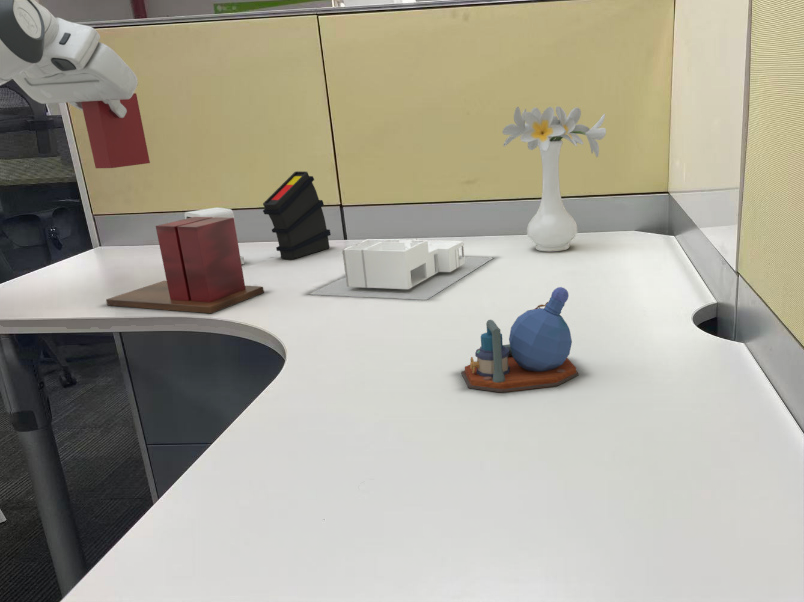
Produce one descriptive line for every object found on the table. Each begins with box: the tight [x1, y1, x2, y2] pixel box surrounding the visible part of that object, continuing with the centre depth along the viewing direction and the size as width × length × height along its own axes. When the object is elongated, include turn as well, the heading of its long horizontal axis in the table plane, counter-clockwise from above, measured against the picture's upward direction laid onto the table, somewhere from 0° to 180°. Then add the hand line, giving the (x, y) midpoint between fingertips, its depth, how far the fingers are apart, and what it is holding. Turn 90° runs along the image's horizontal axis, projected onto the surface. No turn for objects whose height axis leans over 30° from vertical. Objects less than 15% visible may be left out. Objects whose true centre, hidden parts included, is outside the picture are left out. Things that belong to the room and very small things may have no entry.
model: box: [460, 286, 579, 393], centre depth 85 cm, size 12×9×9 cm
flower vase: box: [501, 105, 607, 253], centre depth 144 cm, size 13×18×25 cm
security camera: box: [184, 207, 246, 265], centre depth 145 cm, size 6×7×10 cm
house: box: [309, 238, 494, 301], centre depth 129 cm, size 22×18×6 cm
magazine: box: [262, 170, 332, 260], centre depth 151 cm, size 4×13×15 cm, turn 153°
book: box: [81, 92, 151, 169], centre depth 130 cm, size 8×4×11 cm, turn 158°
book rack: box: [106, 217, 265, 314], centre depth 122 cm, size 12×20×12 cm, turn 69°
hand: (110, 115), depth 128 cm, fingers closed on book, 3 cm apart
